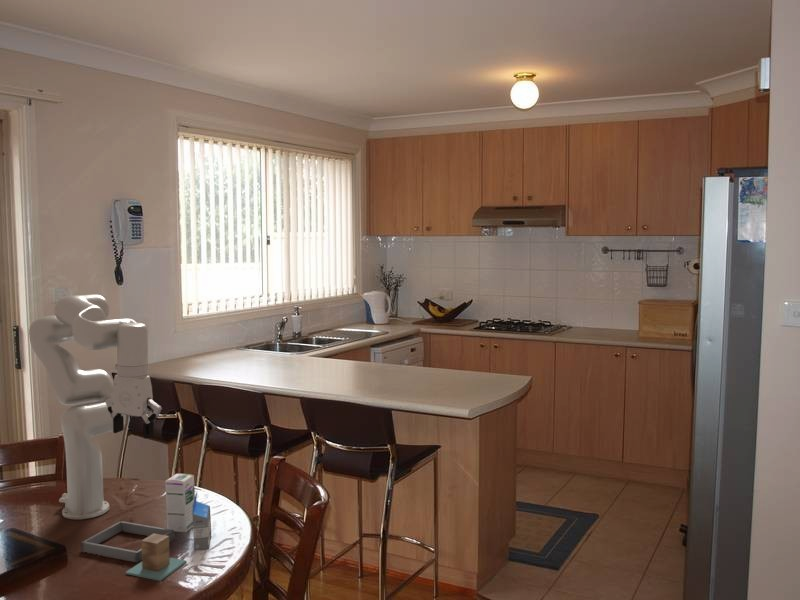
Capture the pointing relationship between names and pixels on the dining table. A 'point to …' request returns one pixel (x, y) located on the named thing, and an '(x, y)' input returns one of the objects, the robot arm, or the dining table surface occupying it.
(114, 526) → the grey rectangular frame
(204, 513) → the label tape box
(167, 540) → the wooden block
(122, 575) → the dining table surface
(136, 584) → the dining table surface
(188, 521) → the syrup box
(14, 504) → the dining table surface
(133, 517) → the dining table surface
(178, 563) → the mat
